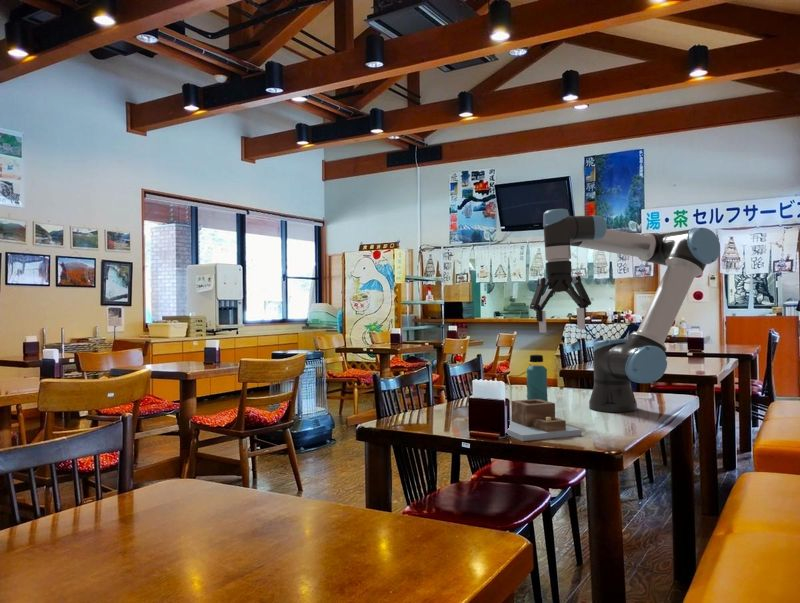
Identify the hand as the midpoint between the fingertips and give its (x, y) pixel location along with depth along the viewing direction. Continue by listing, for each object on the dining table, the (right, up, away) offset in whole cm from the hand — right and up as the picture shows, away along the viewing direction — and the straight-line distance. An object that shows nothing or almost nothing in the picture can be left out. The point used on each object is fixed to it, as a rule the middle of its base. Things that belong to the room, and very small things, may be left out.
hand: (562, 331), depth 186 cm
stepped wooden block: (-10, -26, -13) cm, 30 cm away
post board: (-12, -28, -13) cm, 33 cm away
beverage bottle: (-7, -28, +4) cm, 29 cm away
